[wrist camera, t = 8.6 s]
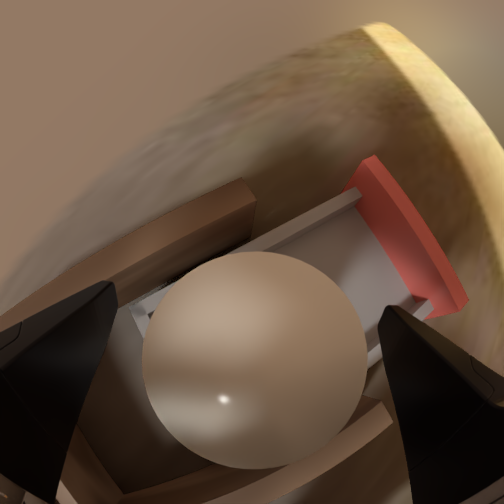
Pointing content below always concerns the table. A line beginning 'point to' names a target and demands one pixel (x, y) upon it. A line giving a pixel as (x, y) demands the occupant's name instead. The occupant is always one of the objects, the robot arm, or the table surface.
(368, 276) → the tray
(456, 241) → the table surface
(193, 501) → the slot
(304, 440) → the canister
